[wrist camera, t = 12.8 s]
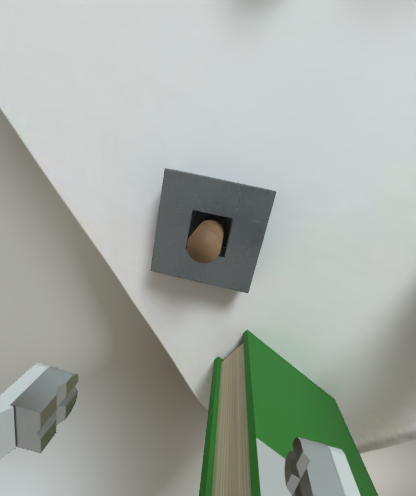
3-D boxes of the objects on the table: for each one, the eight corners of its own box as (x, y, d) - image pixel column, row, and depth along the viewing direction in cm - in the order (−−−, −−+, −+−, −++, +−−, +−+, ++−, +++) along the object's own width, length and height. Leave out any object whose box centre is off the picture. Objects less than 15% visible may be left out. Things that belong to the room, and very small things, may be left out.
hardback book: (214, 360, 37) (179, 665, 14) (247, 329, 35) (271, 629, 12) (298, 425, 38) (393, 791, 15) (334, 399, 36) (506, 780, 13)
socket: (270, 190, 29) (276, 191, 25) (246, 279, 32) (248, 293, 29) (173, 169, 29) (164, 168, 26) (160, 260, 33) (150, 270, 29)
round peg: (227, 218, 30) (224, 234, 22) (221, 242, 31) (216, 266, 23) (202, 213, 30) (189, 227, 22) (197, 237, 31) (184, 259, 23)
